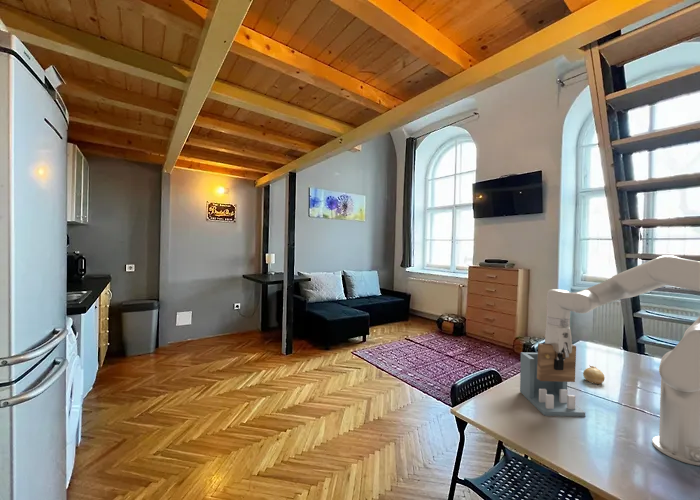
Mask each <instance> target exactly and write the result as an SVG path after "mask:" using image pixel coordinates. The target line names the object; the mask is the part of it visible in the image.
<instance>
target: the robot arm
mask: <svg viewBox="0 0 700 500" xmlns="http://www.w3.org/2000/svg"><path fill="white" fill-rule="evenodd" d="M666 286H672V287H676V288H680V289H685V290H689V291H690V290H691V291H696V292H700V260H694V259H693V260H692V259H687V258H684V257H683V258H681V257H680V256H676V255H672V254H671V255H670V254H665V255H661V256H658V257H655V258H653V259H651V260H648V261H646V262H643V263H641V264H639V265H636V266H634V267H632V268H629V269H627V270H624V271H621V272H618V273H617V274H615V275H612V277H610V278H609V279H606V280H605V281H602V282H600V283H598V284H595V285H592V286H590V287H587V288H586V289H582V290H579V291H577V292H570V291H569V290H566V289H562V288H561V289H559V288H552V289H551V288H550V289H548V291H547V294H546V296H547V297H546V321H545V322H546V326H545V331H544V333H545V334H544V343H545V344H551V345H553V350H554V351H556V359H554V369H555V370H563V368H564V360H565V358H569V354H568V353H572V344H573V342H572V341H573V340H572V339H573V337H572V330H571V326H570V325H571V323H570V321H571V312H574V313H577V314H588V313H590V312H591V311H593V310H594V309H597V308H599V307H601V306H604V305H607V304H610V303H612V302H615V301H620V300H622V299H631V298H633V297H638V296H640V295H644V294H646V293H649V292H651V291H654V290H656V289H659V288H663V287H666ZM559 354H562V355H559ZM658 366H659V367H658V372H659V376H660V395H659V397H660V398H659V399H660V400H659V405H660V406H659V427H658V428H659V429H658V430H659V432H658V433H659V435H657V436H654V437H652V440H651V441H652V442H651V443H652V445H653V446H654V448H656V450H658V451H659V452H661V453H662V454H664V455H666V456H667V457H670V458H672V459H675V460H676V461H679V462H682V463H685V464H688V465H693V466H698V467H700V315H699V316H698V318H697V319H696V320H695V321H694V322H693V323H692V324H691V325H690V326H689V327H688V328H687V329H686V330H685V331H684V334H683V337H682V338H681V340H680V341H679V342H678V343H677V344H676V346H675V347H674V348H673V349H672V350H670V351H669V350H668V351H667V352H666V353H664V354H663V356H662V357H661V360H660V364H659V365H658Z"/></svg>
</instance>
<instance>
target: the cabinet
mask: <svg viewBox="0 0 700 500" xmlns="http://www.w3.org/2000/svg"><path fill="white" fill-rule="evenodd" d="M537 363H538V352H522V351H521V352H520V373H519V374H520V376H519V377H520V378H519V385H520V386H519V392H521V393H522V394H523V395H524V397H525V399H526V400H528V402H530V404H532V406H534V407H535V408H536V409H537V410H538V411H539V412H540V413H541V414H542V415H543V416H547V417H548V416H551V417H553V416H554V417H555V416H556V417H586V411H584V410H583V409H581V408H580V407H579V406H578V405H576V395H574V394H568V382H558V381H540V380H539V379H537ZM521 393H520V394H521ZM522 394H521V395H522ZM523 395H522V396H523Z"/></svg>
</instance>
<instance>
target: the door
mask: <svg viewBox="0 0 700 500" xmlns="http://www.w3.org/2000/svg"><path fill="white" fill-rule="evenodd" d="M537 353H538V363H537V379H539V380H540V381H558V382H567V383H575V382H576V365H577V364H576V361H577V360H576V359H577V345H574V344H573V343H572V353H568V354H569V358H565V360H564V368H563V370H555V369H554V359H556V351H554V350H553V345H551V344H545V342H544V343H540V342H538V343H537ZM559 355H562V354H559Z"/></svg>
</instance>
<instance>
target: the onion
mask: <svg viewBox="0 0 700 500" xmlns="http://www.w3.org/2000/svg"><path fill="white" fill-rule="evenodd" d="M582 375H583V379H585V380H586V381H587V382H589V383H590V384H593V385H594V384H595V385H597V384H598V385H601V384H602V383H604V382H605V378H606V377H605V375H604V373H603V372H602V371H601V369H598V368H597V367H596V366H594V365H590V364H589V367H587V368H585V369H584V371H583V373H582Z"/></svg>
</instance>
